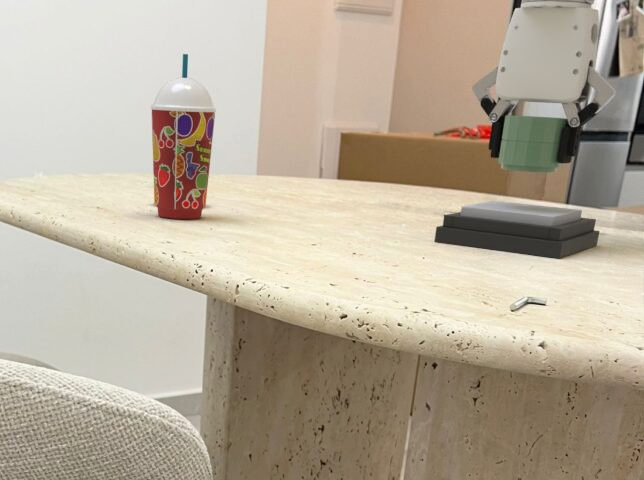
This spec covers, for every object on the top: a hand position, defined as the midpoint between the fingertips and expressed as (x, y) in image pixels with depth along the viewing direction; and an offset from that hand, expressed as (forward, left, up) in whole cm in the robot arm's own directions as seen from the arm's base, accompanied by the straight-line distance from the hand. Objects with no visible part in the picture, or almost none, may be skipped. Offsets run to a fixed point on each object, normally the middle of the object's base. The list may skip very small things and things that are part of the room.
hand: (530, 159), depth 112 cm
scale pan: (0, 0, -7) cm, 7 cm away
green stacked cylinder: (0, 0, -1) cm, 1 cm away
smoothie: (+16, -40, -10) cm, 44 cm away
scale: (0, 0, -10) cm, 10 cm away
